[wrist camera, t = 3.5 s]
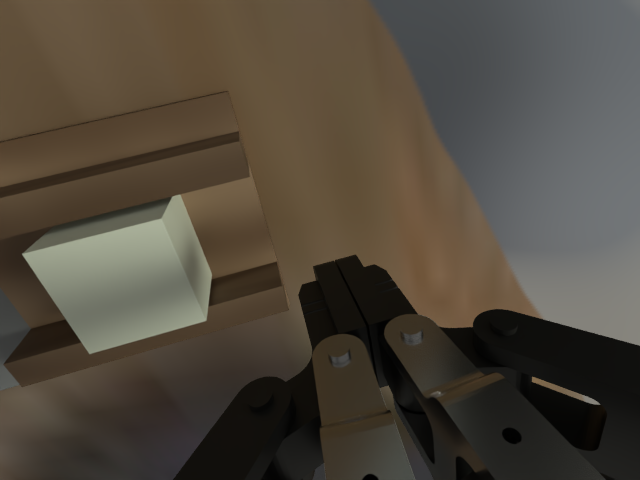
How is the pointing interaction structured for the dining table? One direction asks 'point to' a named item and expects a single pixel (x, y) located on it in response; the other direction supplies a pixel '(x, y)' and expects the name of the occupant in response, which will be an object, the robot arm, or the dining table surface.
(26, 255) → the pale block
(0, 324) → the pad
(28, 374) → the chute
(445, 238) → the dining table surface
